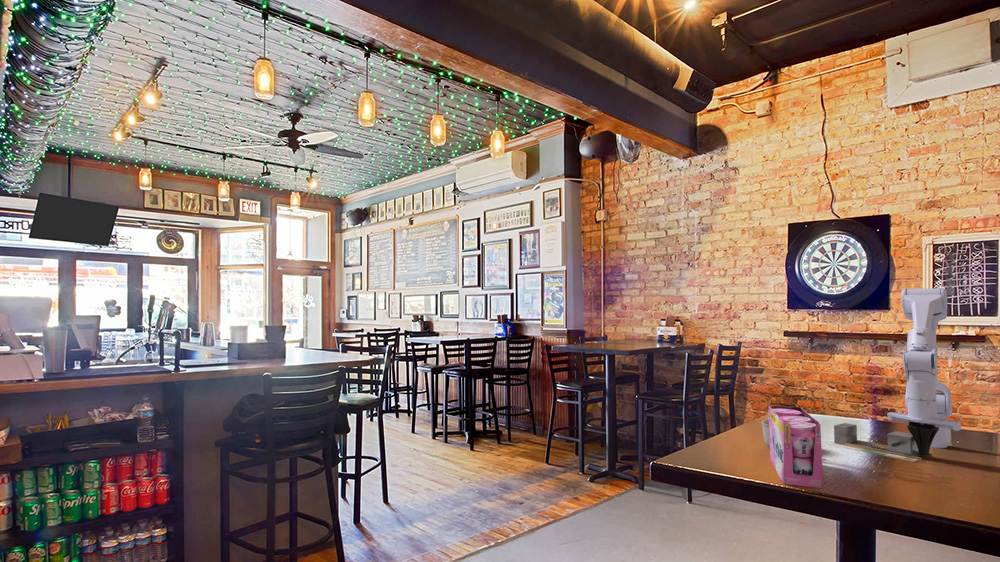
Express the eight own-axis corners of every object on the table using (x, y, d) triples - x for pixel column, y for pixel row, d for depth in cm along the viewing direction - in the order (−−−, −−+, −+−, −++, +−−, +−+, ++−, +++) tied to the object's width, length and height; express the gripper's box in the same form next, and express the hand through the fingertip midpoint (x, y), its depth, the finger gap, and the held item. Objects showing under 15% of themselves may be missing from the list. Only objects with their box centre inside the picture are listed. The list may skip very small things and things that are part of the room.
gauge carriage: (896, 450, 140) (896, 431, 140) (919, 455, 136) (918, 435, 136) (882, 455, 135) (881, 435, 136) (905, 460, 131) (904, 439, 131)
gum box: (826, 491, 113) (824, 425, 113) (784, 487, 115) (782, 423, 116) (803, 461, 135) (802, 406, 136) (768, 458, 138) (767, 404, 139)
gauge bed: (845, 442, 154) (844, 420, 154) (939, 461, 135) (938, 436, 135) (823, 448, 147) (822, 425, 147) (918, 468, 129) (917, 442, 129)
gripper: (881, 396, 137) (883, 450, 137) (951, 405, 125) (954, 464, 124) (893, 394, 141) (895, 446, 140) (963, 402, 129) (965, 459, 128)
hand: (924, 454), depth 133 cm, fingers closed
